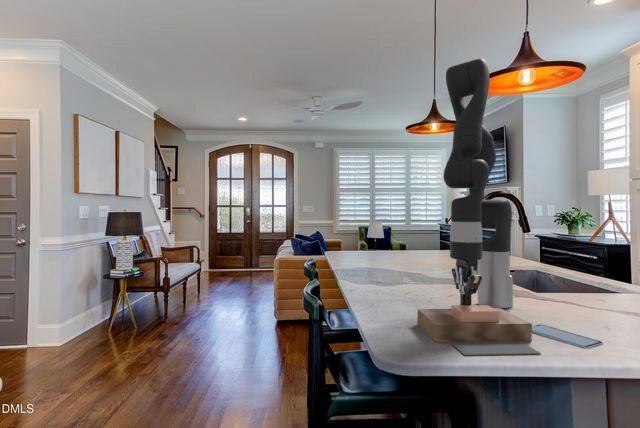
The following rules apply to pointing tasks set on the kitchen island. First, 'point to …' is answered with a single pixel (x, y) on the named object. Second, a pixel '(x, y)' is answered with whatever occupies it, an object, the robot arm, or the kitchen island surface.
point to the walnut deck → (473, 327)
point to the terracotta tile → (474, 313)
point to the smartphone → (565, 336)
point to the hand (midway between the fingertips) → (465, 308)
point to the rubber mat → (494, 348)
